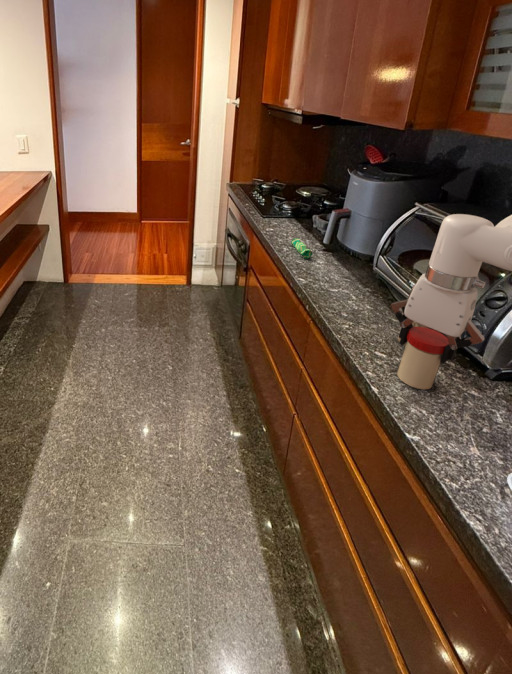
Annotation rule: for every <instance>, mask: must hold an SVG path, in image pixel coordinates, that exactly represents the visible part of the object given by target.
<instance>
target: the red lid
mask: <svg viewBox="0 0 512 674" xmlns="http://www.w3.org/2000/svg"><path fill="white" fill-rule="evenodd" d="M406 338H407V341H408V342H409V343H410V344H411V345H412V346H414V347H415V348H417V349H419V350H422V351H424V352H428V353H432V354H443V352H444V350H445V347H446V346H447V345H448V344H449V342H448V339H447V335H445V334H444V333H441V332H439V331H436V330H434V329H429V328H425V327H412V328H411V329H410V330H409V332H408V334H407V337H406Z"/></svg>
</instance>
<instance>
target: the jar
mask: <svg viewBox="0 0 512 674" xmlns="http://www.w3.org/2000/svg"><path fill="white" fill-rule="evenodd" d="M442 355H443V354H432V353H428V352H424V351H422V350H419V349H417V348H415V347H414V346H412V345H411V344H410V343H409V342H408V341H407V343H406V346H404V350H403V353H402V356H401V360H400V363H399V366H398V369H397V371H396V375H397V377H398V379H400V381H402V382H403V383H404V384H406V385H407V386H409V387H412V388H415V389H418V390H429V389H431V388H432V387H433V385H434V383H435V380H436V377H437V375H438V371H439V368H440V366H441V364H442V363H441V362H440V360H441V358H442Z"/></svg>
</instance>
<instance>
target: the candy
mask: <svg viewBox="0 0 512 674" xmlns="http://www.w3.org/2000/svg"><path fill="white" fill-rule="evenodd" d="M290 244H291V246H292V247H294V248H295V249H296V251H297V252H298V253H299V254H300V255H301V256H302V258H303V259H304V260H305V259H311V257H312V256H313V251H312V249H309V248H308V247H307V246H306V244H305V243H304V242H303V241H301V240H300V238H299V237H296V238H293V239H291V242H290Z"/></svg>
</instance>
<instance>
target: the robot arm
mask: <svg viewBox="0 0 512 674" xmlns="http://www.w3.org/2000/svg"><path fill="white" fill-rule="evenodd" d="M483 263H486V264H489V265H492V266H494V267H497V268H499V269H503V270H506V271H509V272H512V214H510V215H509V216H507V217H505V218H504V219H502V220H500V221H499V222H498V223H497V224H495V225H494V223H493V222H492V221H490V220H488V219H486V218H485V217H481V216H477V215H472V214H467V213H465V214H464V213H456V214H455V213H453V214H450V215H449V214H448V215H447V216H445V217H444V218H443V220H442V222H441V224H440V227H439V230H438V233H437V237H436V240H435V243H434V246H433V249H432V252H431V255H430V258H429V262H428V264H427V267H426V270H425V273H422V274H421V275H420V276H419V278H418V280H417V281H416V283H415V284H414V285H415V287H414V289H413V291H412V293H411V295H410V297H409V299H408V298H405V299H401V300H397V301H393V302H392V303H391V304H390V307H391V309H392V311H393V313H394V314H395V318H396V319H397V321H398V322H399V326H400V327H401V328H400V331H399V334H398V336H399V338H401V340H400V343H399V342H398V343H399V344H400V345H402V346H403V345H404V344H405V343H406V342H407V338H406V337H407V334H408V332H409V330H410V329H411V328H412V327H413V325H412V323H413V322H414V321H415V322H417V323H419V324H422V325H424V326H427V327H429V328H431V329H432V330H435V331H437V332H439V333H441V334H443V335H445V336H446V337H447V339H448V342H449V344H448V345H447V346H446V347H445V350H444V352H443V355H442V358H441V360H440V362H441V363H440V364H443V365H445V364H446V363H447V362H448V361H450V362H452V361H453V360H454V358H455V355H456V354H457V353H456V352H457V350H458V349H462V348H466V347H467V348H468V347H470V346H472V345H473V346H474V345H477V344H481V343H483V342H484V341H485V339H486V338H485V336H484V335H483V334H482V333H481V331H480V330H479V329H478V328H477V326H476V325H475V323H473V322H472V319H473V316H474V314H475V313H474V312H475V309H476V304H477V299H478V289H484V288H485V286H486V281H483V280H482V279H480V277H479V272H480V269H481V266H482V264H483ZM477 288H478V289H477ZM405 306H406V307H405ZM403 308H404V311H403ZM464 332H467V333H468V335H470V337H463V338H462V335H463V333H464Z"/></svg>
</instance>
